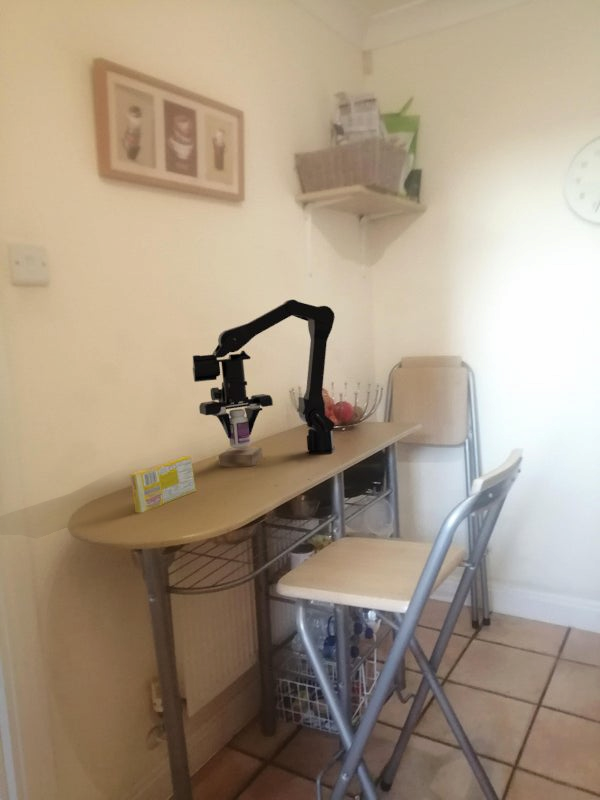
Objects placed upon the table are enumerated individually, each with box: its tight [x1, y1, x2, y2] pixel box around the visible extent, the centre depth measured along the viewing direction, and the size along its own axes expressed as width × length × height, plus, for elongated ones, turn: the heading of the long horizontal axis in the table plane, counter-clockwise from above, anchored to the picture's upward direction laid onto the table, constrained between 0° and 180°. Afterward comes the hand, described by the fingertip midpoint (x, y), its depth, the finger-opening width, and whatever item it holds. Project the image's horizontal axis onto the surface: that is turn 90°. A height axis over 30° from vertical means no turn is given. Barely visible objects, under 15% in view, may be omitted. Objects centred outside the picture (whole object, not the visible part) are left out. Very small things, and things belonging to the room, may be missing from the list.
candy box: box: [129, 455, 197, 514], centre depth 132 cm, size 16×2×8 cm, turn 146°
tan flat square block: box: [218, 446, 263, 468], centre depth 164 cm, size 9×9×3 cm
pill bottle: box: [228, 408, 251, 448], centre depth 163 cm, size 5×5×10 cm
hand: (239, 436), depth 163 cm, fingers closed on pill bottle, 5 cm apart
